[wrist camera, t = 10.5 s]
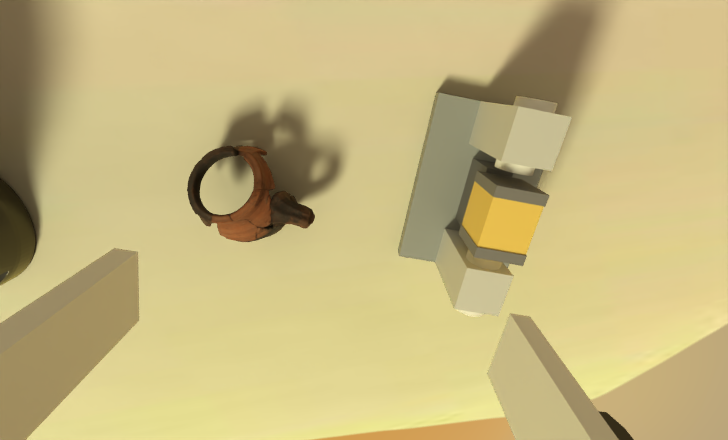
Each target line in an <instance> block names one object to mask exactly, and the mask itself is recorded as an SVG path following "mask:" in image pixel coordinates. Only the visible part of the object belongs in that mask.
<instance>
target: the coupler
mask: <svg viewBox="0 0 728 440" xmlns="http://www.w3.org/2000/svg"><path fill="white" fill-rule="evenodd" d="M474 181H475V182H474V185H473V188H472V192H471V195H470V198H469V202H468V205H467V208H466V212H465V215H464V218H463V222H462V225H461V227H460V230H459V235H460V237H461V238H462V240H463V241H464V243H465V244H466V246H467V247H468V249H469V251H470V252H471V254H472V255H473V257H474V258H480V259H486V260H492V261H498V262H503V263H509V264H515V265H521V266H523V265H524V262H525V259H526V253H527V250H528V247H529V245H530V242H531V239H532V237H533V234H534V231H535V229H536V226H537V223H538V221H539V218H540V215H541V212H542V210H543V207H545V206H546V203H547V200H548V198H549V195H548V194H546V193H544V192H543V191H541V190H539V189H538V188H536V187H534V186H533V185H531V184H529V183H527V182H526V181H524V180H522V179H518V178H513V177H508V176H502V175H497V174H492V173H486V172H481V171H477V173H476V176H475V180H474Z"/></svg>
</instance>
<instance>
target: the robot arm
mask: <svg viewBox="0 0 728 440" xmlns="http://www.w3.org/2000/svg"><path fill="white" fill-rule="evenodd" d="M34 250H35V233H34V228H33V224H32V221H31V218H30V216H29V214H28V212H27V210H26V208H25V206H24V205H23V203H22V202H21V200H20V199H19V197H18V196H17V195H16V194H15V192H14V191H13V190H12V189H11V188H10V187H9V186H8V185H7V184H6V183H5V182H4V181H3V180H1V179H0V285H2V284H4V283H6V282H8V281H9V280H11V279H13V278H15V277H17V276H18V275H19V274H21V273H22V272H23V271H24V270H25V269H26V268H27V266H28V265H29V263H30V262H31V260H32V257H33V254H34ZM138 321H139V285H138V252H134V251H128V250H122V249H116V248H114V249H113V250H111V251H110V252H108V253H107V254H105V255H104V256H102V257H100V258H99V259H97V260H96V261H94V262H93V263H91V264H90V265H88V266H87V267H85V268H84V269H82V270H81V271H79V272H78V273H76V274H75V275H73V276H72V277H70V278H69V279H67V280H66V281H64V282H62V283H61V284H59V285H58V286H56V287H55V288H53V289H52V290H50V291H49V292H47V293H46V294H44V295H43V296H41V297H40V298H38V299H37V300H35V301H34V302H32V303H31V304H29V305H28V306H26V307H24V308H23V309H21V310H20V311H18V312H17V313H15V314H14V315H12V316H11V317H9V318H8V319H6V320H5V321H3V322H2V323H0V440H26V439H27V438H28V437H29V436H30V435H31V433H32V432H33V431H34V430H35V429H36V428H37V427H38V426H39V425H40V424H41V423H42V422H43V421H44V420H45V419H46V418H47V417H48V416H49V415H50V413H51V412H52V411H53V410H54V409H55V408H56V407H57V406H58V405H59V404H60V403H61V402H62V401H63V400H64V399H65V398H66V397H67V396H68V395H69V393H70V392H71V391H72V390H73V389H74V388H75V387H76V386H77V385H78V384H79V383H80V382H81V381H82V380H83V379H84V378H85V377H86V376H87V375H88V373H89V372H90V371H91V370H92V369H93V368H94V367H95V366H96V365H97V364H98V363H99V362H100V361H101V360H102V359H103V358H104V357H105V356H106V355H107V353H108V352H109V351H110V350H111V349H112V348H113V347H114V346H115V345H116V344H117V343H118V342H119V341H120V340H121V339H122V338H123V337H124V336H125V335H126V333H127V332H128V331H129V330H130V329H131V328H132V327H133V326H134V325H135V324H136V323H137V322H138ZM487 374H488V377H489V379H490V381H491V384H492V386H493V388H494V391H495V393H496V395H497V398H498V400H499V402H500V404H501V407H502V409H503V411H504V414H505V416H506V418H507V421H508V423H509V425H510V428H511V430H512V432H513V435H514V437H515V439H516V440H633V438H632V437H631V436H630V434H629V433H628V432H627V431H626V429H625V428H624V427H622V426H621V425H620V424H619V423H618V422H617V421H616V420H614V419H613V418H612V417H611V416H610V415H609V414H608V413H606V412H599V411H598V410H597V409H596V407H595V406H594V405H593V403H592V402H591V401H590V399H589V398H588V396H587V395H586V394H585V392H584V391H583V389H582V388H581V387H580V385H579V384H578V383H577V381H576V380H575V378H574V377H573V376H572V374H571V373H570V371H569V370H568V369H567V367H566V366H565V364H564V363H563V362H562V360H561V359H560V358H559V356H558V355H557V353H556V352H555V351H554V349H553V348H552V346H551V345H550V344H549V342H548V341H547V340H546V338H545V337H544V335H543V334H542V333H541V331H540V330H539V328H538V327H537V326H536V324H535V323H534V322H533V320H532V319H531V317H529V316H523V315H516V314H509V317H508V320H507V322H506V325H505V328H504V330H503V333H502V335H501V338H500V341H499V343H498V346H497V349H496V351H495V354H494V357H493V359H492V362H491V364H490V367H489V370H488V372H487Z"/></svg>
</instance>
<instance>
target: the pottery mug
mask: <svg viewBox="0 0 728 440" xmlns="http://www.w3.org/2000/svg"><path fill="white" fill-rule="evenodd" d="M238 155H240V156H244V160H245V161H246V162H247V163H248V164H249V165H250V167H251V168H252V171H253V175H254V190H253V192H252V194H251V196H250V198H249V199H248V201H247V202H246V203H245V204H244V205H243V206H242V207H241V208H240V209H238V210H237V211H235V212H233V213H231V214H227V215H217V214H212V213H210V212H209V211H208V210H207V209H206V208H205V207H204V206H203V204H202V202H201V199H200V184H201V181H202V178H203V176H204V174H205V173H206V171H207V170H208V169H209V168H210V167H211V166H212V165H213V164H214V163H215V162H217V161H218V160H220V159H222V158H225V157H230V156H238ZM261 155H267V152H266V151H264V150H262V149H259V148H255V147H251V146H236V147H232V146H226V147H221V148H218V149H215V150H212V151H210V152H209V153H207V154H206V155H205V156H204V157H203V158H202V159H201V160H200V161H199V162H198V163H197V164H196V165H195V167H194V169H193V171H192V172H191V174H190V177H189V181H188V189H187V191H188V197H189V201H190V204H191V206H192V209H193V210H194V212H195V214H198V215H199V216H200V218H201V220H202V221H203V223H204V224H205V225H206V226H211V223H217V227H218V231H219V233H220V235H221V236H224V237H226V238H227V239H231V240H236V241H240V242H251V241H255V240H259V239H262V238H264V237H268V236H271V235H273V234H275V233H277V232H278V231H279V230H281V229H282V227H283V226H284V225H285V224H293V225H297V226H300V227H302V228H308V227H309V225H310V224H312V223H313V221H314V218H315V215H314V213H313V211H312V209H310V208H308V207H306V206H304V205H301V204H298V203H297V201H296V199H295V197H294V196H290V194H289V193H287V192H286V191H281V192H277V193H275V194H274V195H273V197H272V199H271V198H270V195H269V191H270V190H273V189H275V184H274V181H273V178H272V174H271V171H270V169H269V167H268V166H267V164H266V162H265V160H264V159H263V157H262V156H261ZM271 223H273V224H272V225H271V226H269V225H270V224H271Z"/></svg>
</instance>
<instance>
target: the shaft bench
mask: <svg viewBox="0 0 728 440" xmlns="http://www.w3.org/2000/svg"><path fill="white" fill-rule="evenodd" d="M557 105H558V103H554V102H550V101H545V100H540V99H535V98H529V97H523V96H516V98H515V101H514V105H505V104H498V103H491V102H484V101H478V100H473V99H468V98H463V97H458V96H453V95H448V94H443V93H438V92H436V95H435V100H434V104H433V108H432V112H431V116H430V120H429V124H428V128H427V133H426V137H425V141H424V145H423V149H422V153H421V157H420V161H419V166H418V170H417V174H416V178H415V182H414V186H413V190H412V194H411V199H410V203H409V207H408V211H407V215H406V219H405V223H404V227H403V231H402V236H401V240H400V244H399V248H398V253H399V256H402V257H408V258H414V259H420V260H426V261H431V262H435V263H436V266H437V268H438V271H439V273H440V275H441V278H442V280H443V283H444V285H445V288H446V290H447V293H448V295H449V298H450V300H451V302H452V305H453V307H454V309H456V310H458V311H459V312H461V313H463V314H465V315H468V316H472V317H480V316H483V315H484V314H488V315H494V316H499V314H500V311H501V309H502V306H503V303H504V301H505V298H506V295H507V292H508V290H509V287H510V284H511V282H512V279H513V275H512V274H511V272H510V271H509V270H508V266H509V263H503V262H498V261H492V260H486V259H480V258H474V257H473V255H472V254H471V252H470V251H469V249H468V247H467V246H466V244H465V243H464V241H463V240H462V238H461V237H460V235H459V230H460V227H461V225H462V222H463V218H464V215H465V212H466V208H467V205H468V202H469V198H470V195H471V192H472V188H473V185H474V182H475V181H474V180H475V176H476V173H477V171H481V172H486V173H492V174H497V175H502V176H508V177H513V178H518V179H522V180H524V181H526V182H527V183H529V184H531V185H533V186H534V187H536V188H537V185H538V182H539V180H540V177H541V174H542V171H543V170H548V171H552V170H553V168H554V165H555V162H556V159H557V157H558V154H559V151H560V149H561V146H562V143H563V140H564V138H565V135H566V132H567V130H568V127H569V124H570V121H571V119H572V117H569V116H564V115H559V114H554V113H555V111H556V108H557Z"/></svg>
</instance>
